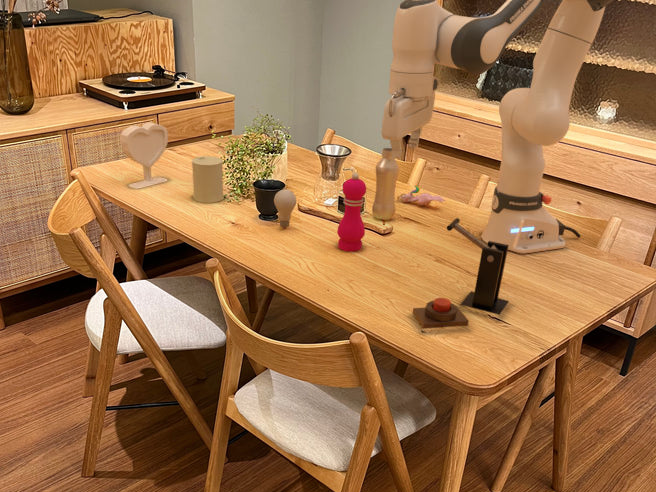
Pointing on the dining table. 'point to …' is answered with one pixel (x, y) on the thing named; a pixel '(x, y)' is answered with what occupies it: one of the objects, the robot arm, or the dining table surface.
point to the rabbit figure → (420, 197)
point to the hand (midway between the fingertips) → (405, 152)
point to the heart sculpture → (145, 149)
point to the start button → (442, 305)
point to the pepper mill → (352, 215)
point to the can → (207, 179)
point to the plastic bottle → (385, 186)
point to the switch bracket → (489, 280)
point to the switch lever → (468, 234)
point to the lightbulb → (285, 206)
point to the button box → (439, 317)
